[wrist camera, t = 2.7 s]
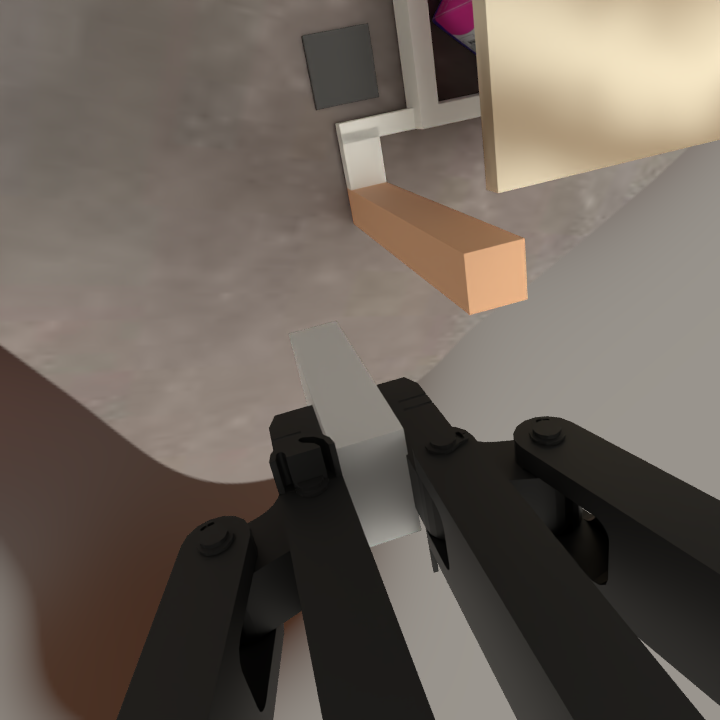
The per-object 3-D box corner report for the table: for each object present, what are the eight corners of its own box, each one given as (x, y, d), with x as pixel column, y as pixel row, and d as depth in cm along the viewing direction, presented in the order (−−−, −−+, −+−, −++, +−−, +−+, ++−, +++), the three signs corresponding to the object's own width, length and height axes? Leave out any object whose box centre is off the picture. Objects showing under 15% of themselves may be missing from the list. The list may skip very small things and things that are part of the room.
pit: (301, 36, 33) (302, 35, 32) (366, 24, 33) (367, 23, 33) (316, 109, 34) (317, 109, 34) (377, 97, 35) (379, 96, 35)
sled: (293, -98, 30) (402, -362, 13) (579, -142, 32) (979, -412, 16) (353, 223, 38) (469, 314, 21) (580, 169, 40) (846, 211, 23)
